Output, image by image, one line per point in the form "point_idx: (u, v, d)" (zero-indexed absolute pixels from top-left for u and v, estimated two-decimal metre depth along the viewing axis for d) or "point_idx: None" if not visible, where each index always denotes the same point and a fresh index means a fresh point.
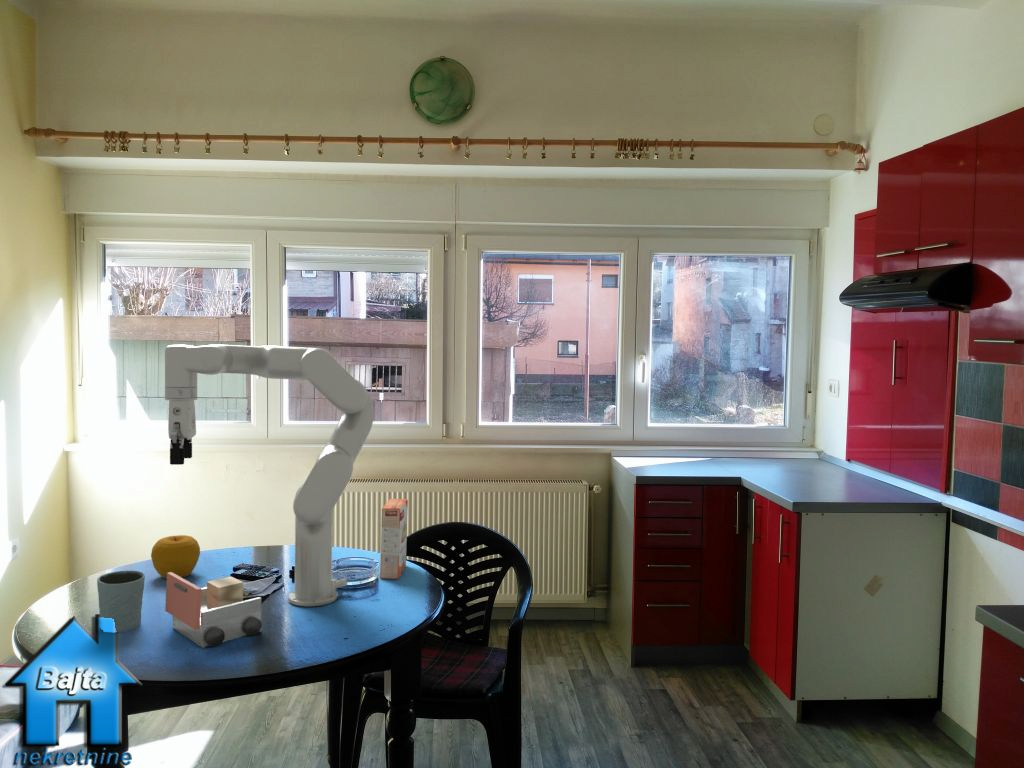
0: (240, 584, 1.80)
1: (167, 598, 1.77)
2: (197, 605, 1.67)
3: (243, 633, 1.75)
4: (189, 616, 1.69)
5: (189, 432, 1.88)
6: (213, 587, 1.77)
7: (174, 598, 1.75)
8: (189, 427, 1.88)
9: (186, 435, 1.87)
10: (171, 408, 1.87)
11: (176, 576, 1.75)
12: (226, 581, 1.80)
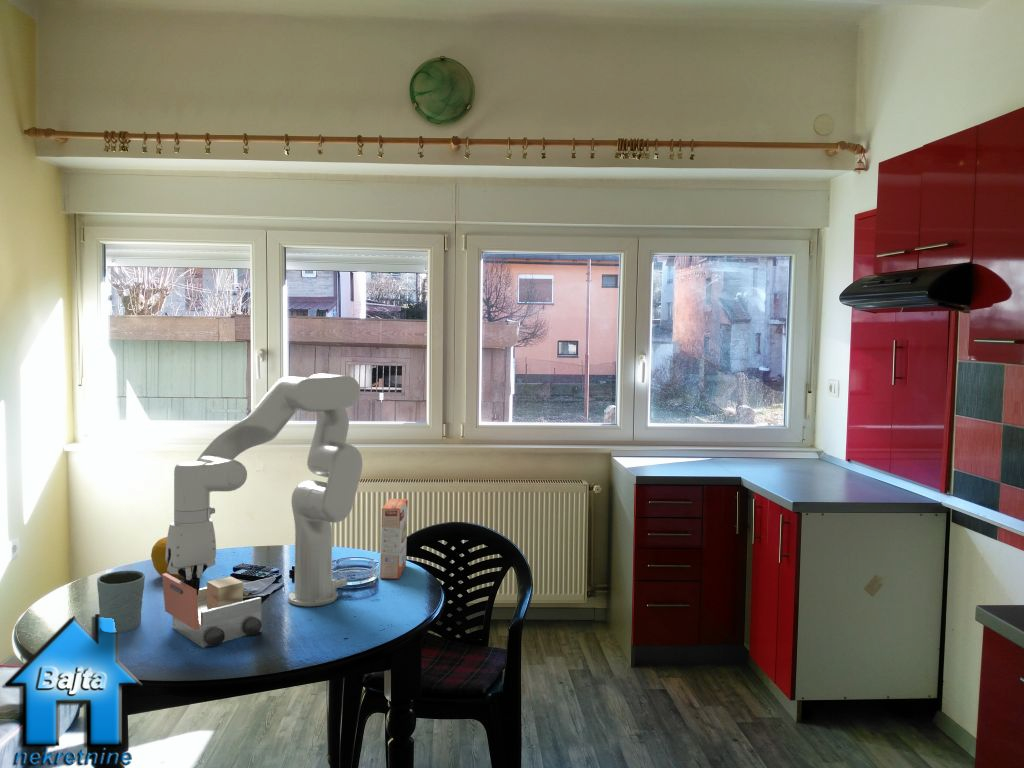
0: (240, 584, 1.80)
1: (166, 598, 1.77)
2: (194, 606, 1.67)
3: (243, 633, 1.75)
4: (188, 617, 1.69)
5: None
6: (213, 587, 1.77)
7: (172, 599, 1.74)
8: None
9: None
10: (213, 528, 1.76)
11: (171, 577, 1.75)
12: (226, 581, 1.80)
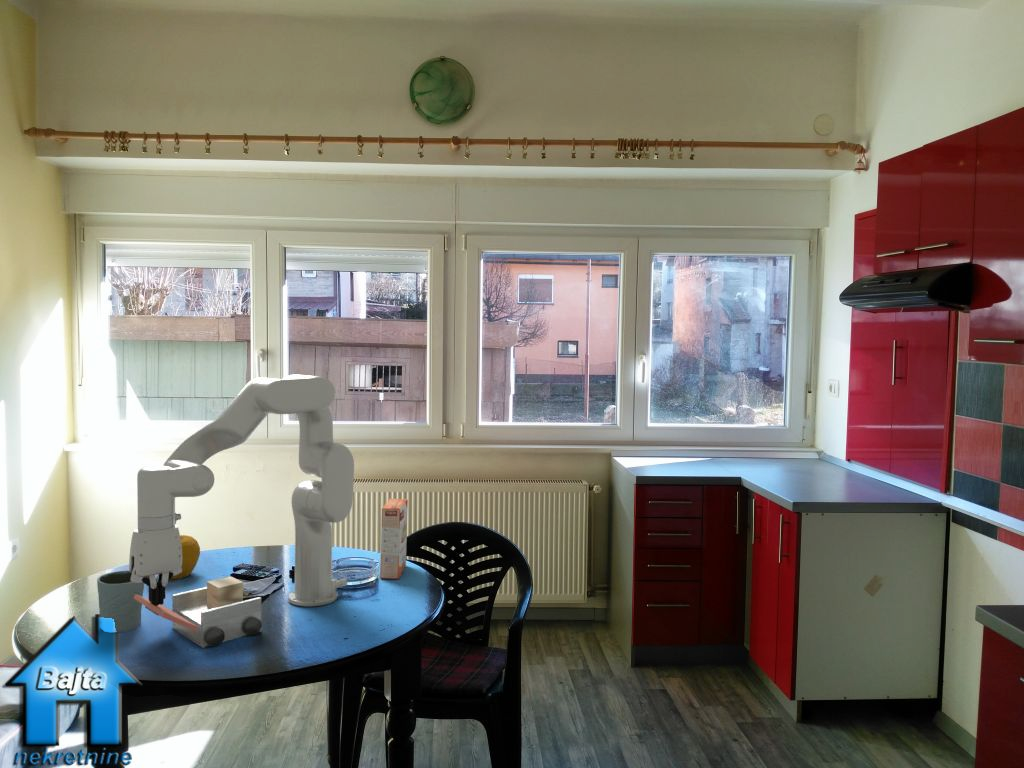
0: (240, 584, 1.80)
1: None
2: (176, 621, 1.64)
3: (243, 633, 1.75)
4: None
5: None
6: (213, 587, 1.77)
7: None
8: None
9: None
10: (179, 534, 1.70)
11: (141, 600, 1.70)
12: (226, 581, 1.80)
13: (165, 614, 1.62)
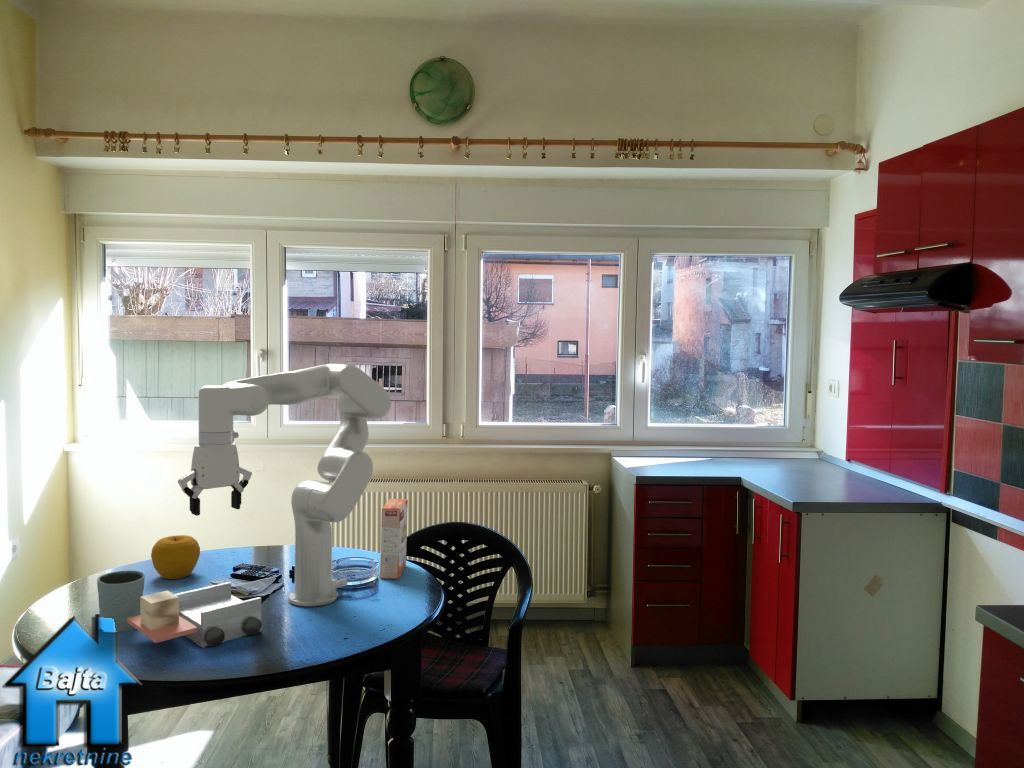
0: (176, 599, 1.69)
1: None
2: (172, 637, 1.63)
3: (243, 633, 1.75)
4: None
5: None
6: (146, 603, 1.66)
7: None
8: None
9: None
10: None
11: (133, 625, 1.69)
12: (160, 596, 1.69)
13: (157, 639, 1.61)
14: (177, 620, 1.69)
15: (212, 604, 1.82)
